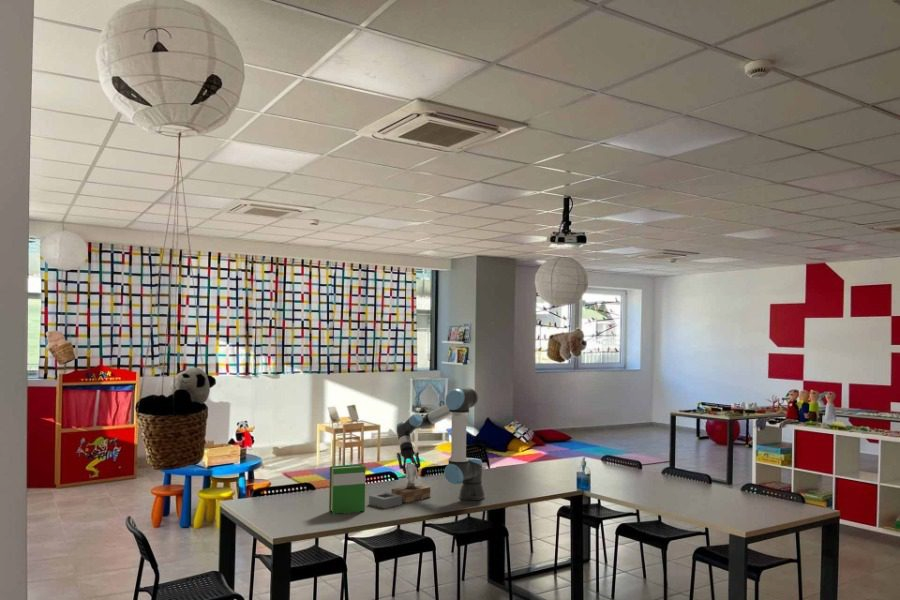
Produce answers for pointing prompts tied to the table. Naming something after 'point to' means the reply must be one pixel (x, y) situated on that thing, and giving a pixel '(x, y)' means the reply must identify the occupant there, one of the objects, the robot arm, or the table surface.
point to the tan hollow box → (412, 493)
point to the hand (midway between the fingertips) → (412, 477)
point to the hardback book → (347, 489)
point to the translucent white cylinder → (410, 476)
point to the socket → (385, 500)
